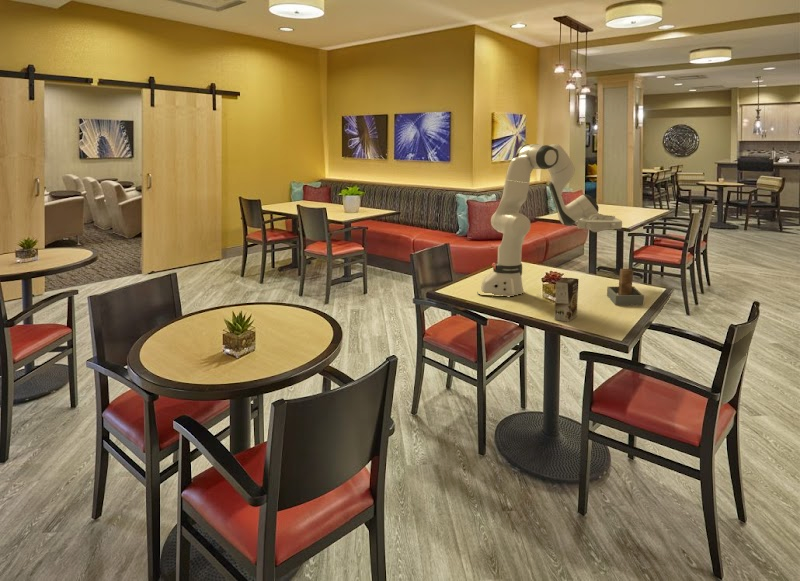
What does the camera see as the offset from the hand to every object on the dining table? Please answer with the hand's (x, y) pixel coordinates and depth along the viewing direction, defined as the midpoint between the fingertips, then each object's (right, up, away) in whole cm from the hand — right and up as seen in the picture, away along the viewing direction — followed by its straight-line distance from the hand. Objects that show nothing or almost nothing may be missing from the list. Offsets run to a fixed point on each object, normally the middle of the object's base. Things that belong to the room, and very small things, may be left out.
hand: (602, 226), depth 259 cm
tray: (+7, -34, -7) cm, 35 cm away
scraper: (+7, -33, -7) cm, 35 cm away
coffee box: (-25, -41, -29) cm, 56 cm away
